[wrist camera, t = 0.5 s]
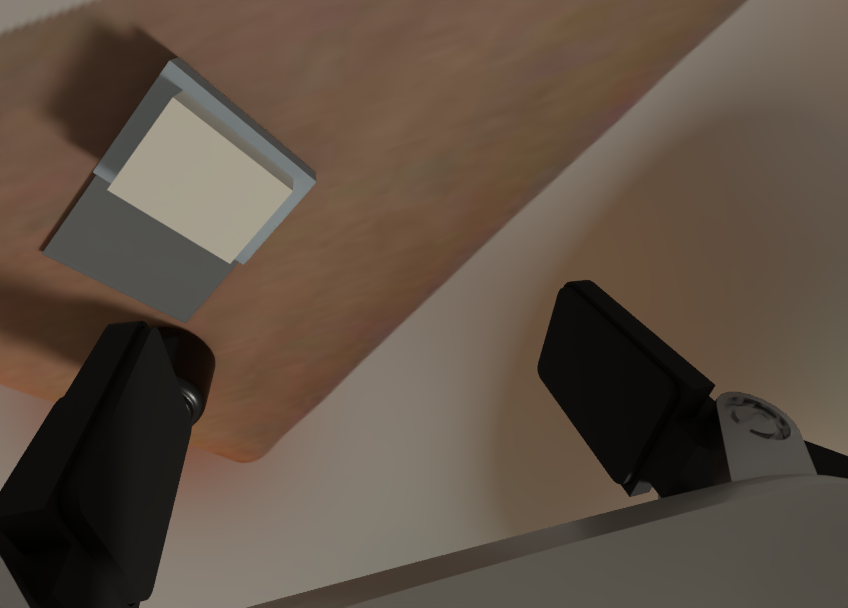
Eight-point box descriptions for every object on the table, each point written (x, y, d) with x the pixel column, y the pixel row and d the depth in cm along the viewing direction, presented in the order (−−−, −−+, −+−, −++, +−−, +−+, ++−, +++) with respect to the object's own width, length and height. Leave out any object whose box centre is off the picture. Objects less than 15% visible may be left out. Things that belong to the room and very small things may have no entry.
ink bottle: (93, 360, 41) (29, 465, 31) (151, 307, 39) (103, 401, 29) (183, 402, 46) (153, 503, 37) (237, 357, 45) (220, 450, 35)
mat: (103, 165, 32) (102, 166, 31) (244, 254, 38) (244, 255, 38) (43, 252, 34) (41, 253, 34) (186, 321, 41) (185, 323, 40)
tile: (183, 90, 28) (172, 97, 26) (293, 178, 33) (293, 191, 31) (122, 176, 30) (106, 189, 28) (234, 247, 35) (230, 263, 33)
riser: (178, 57, 29) (169, 60, 27) (315, 172, 36) (316, 181, 34) (105, 162, 31) (92, 172, 29) (246, 251, 38) (243, 264, 36)
